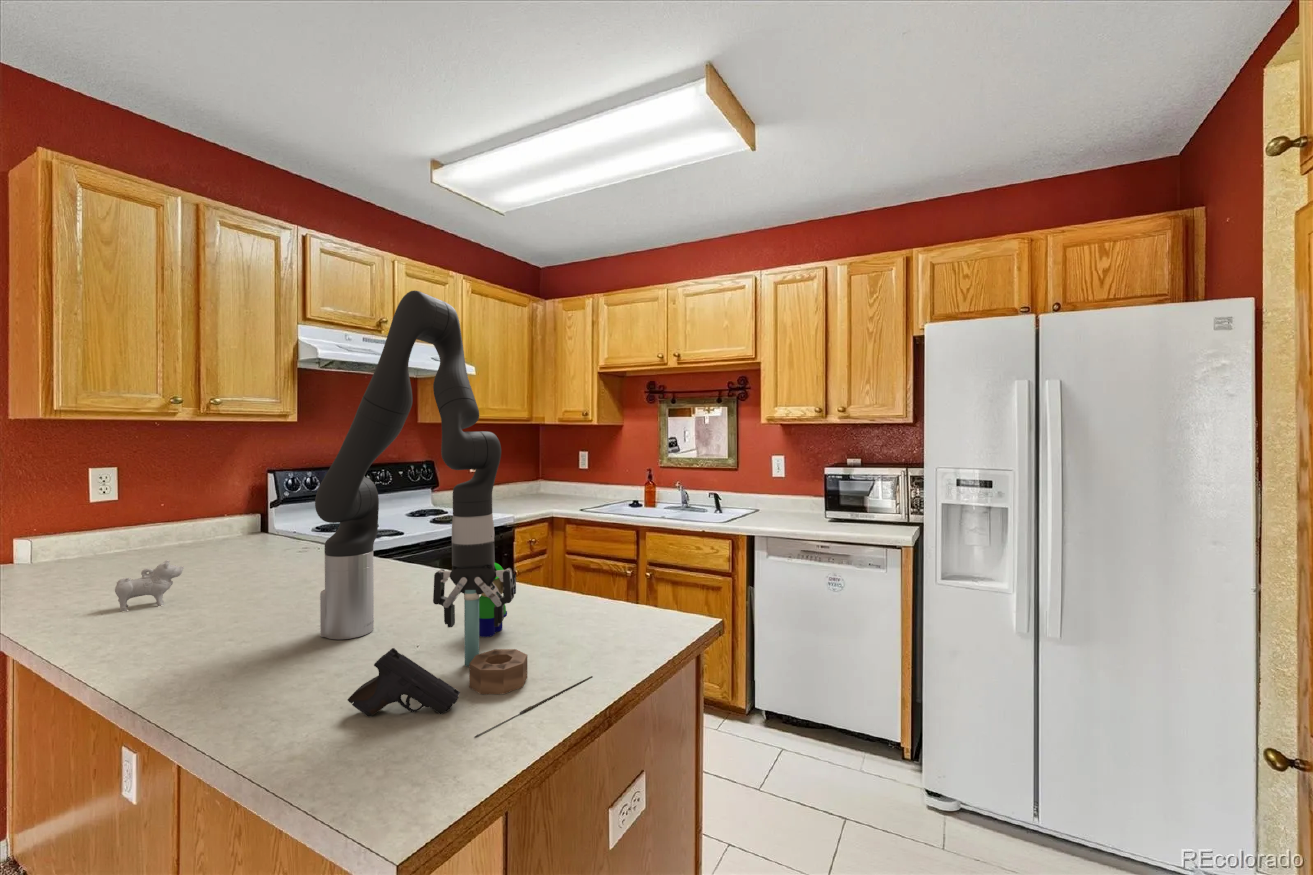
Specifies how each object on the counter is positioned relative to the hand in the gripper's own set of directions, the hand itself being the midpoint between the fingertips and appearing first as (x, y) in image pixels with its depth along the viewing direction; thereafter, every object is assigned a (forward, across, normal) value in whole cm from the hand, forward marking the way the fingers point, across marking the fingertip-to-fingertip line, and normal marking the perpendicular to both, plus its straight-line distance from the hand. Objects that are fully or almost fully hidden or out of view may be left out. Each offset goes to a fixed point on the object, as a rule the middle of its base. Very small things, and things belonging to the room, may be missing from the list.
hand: (474, 625), depth 107 cm
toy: (+7, -1, +17) cm, 18 cm away
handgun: (+7, -6, -18) cm, 20 cm away
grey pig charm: (+6, -90, +38) cm, 98 cm away
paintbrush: (+8, +15, -16) cm, 23 cm away
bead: (+7, +6, -8) cm, 13 cm away
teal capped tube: (+7, 0, 0) cm, 7 cm away
